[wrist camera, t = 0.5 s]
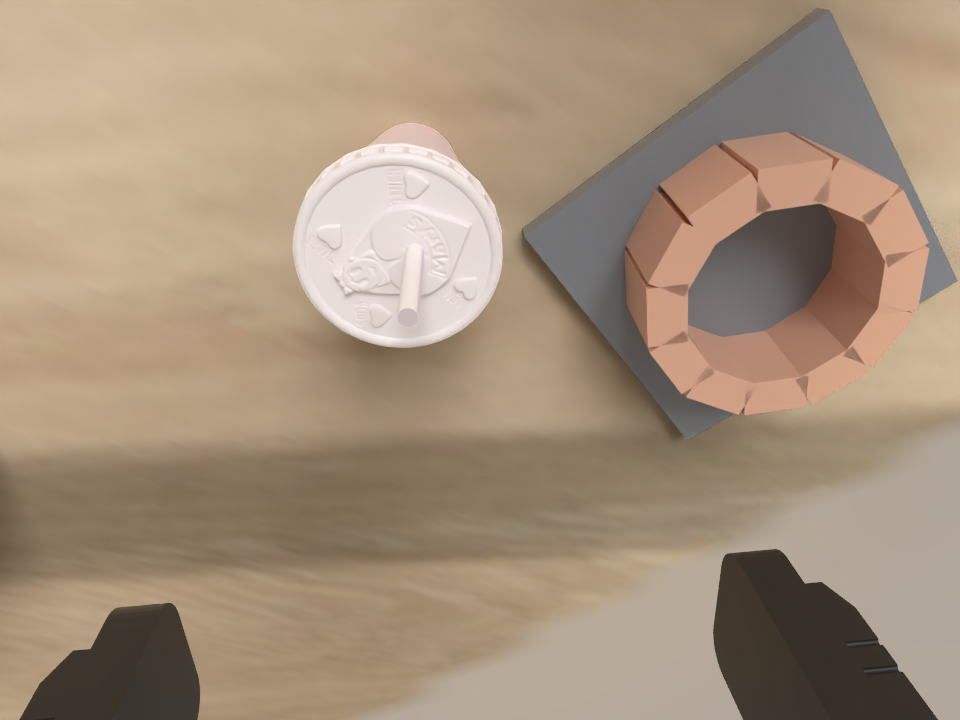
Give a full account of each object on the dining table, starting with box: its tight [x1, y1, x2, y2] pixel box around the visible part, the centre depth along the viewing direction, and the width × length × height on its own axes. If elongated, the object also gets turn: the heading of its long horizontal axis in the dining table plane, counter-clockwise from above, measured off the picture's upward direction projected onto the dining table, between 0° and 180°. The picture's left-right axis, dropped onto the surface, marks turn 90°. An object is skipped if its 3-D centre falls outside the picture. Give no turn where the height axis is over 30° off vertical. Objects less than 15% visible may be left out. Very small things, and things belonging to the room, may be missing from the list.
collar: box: [522, 8, 957, 441], centre depth 30 cm, size 14×14×5 cm
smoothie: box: [293, 123, 503, 348], centre depth 24 cm, size 6×6×14 cm
